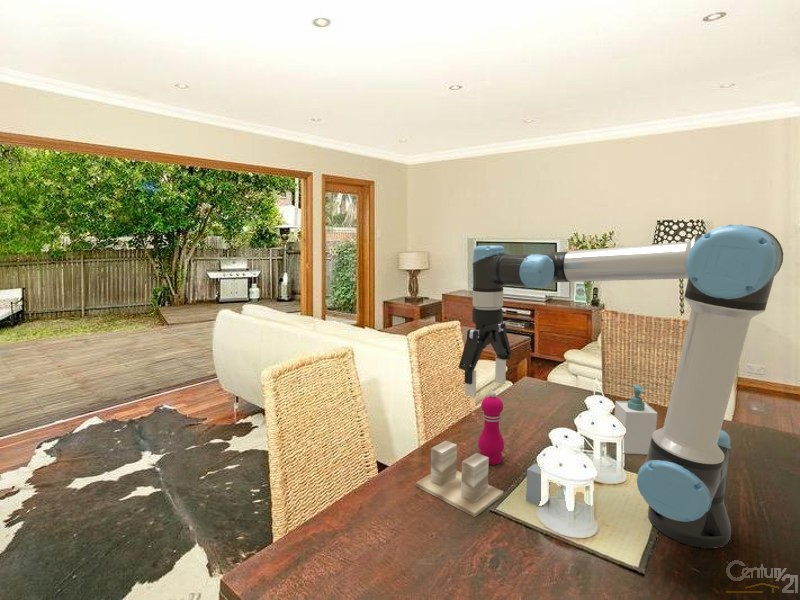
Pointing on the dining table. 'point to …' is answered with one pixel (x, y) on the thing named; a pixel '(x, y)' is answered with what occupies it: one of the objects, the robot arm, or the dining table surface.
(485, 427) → the pepper mill
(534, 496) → the blue-grey rectangular block
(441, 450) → the two-post base plate
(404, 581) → the dining table surface
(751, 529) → the dining table surface
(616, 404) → the soap bottle
